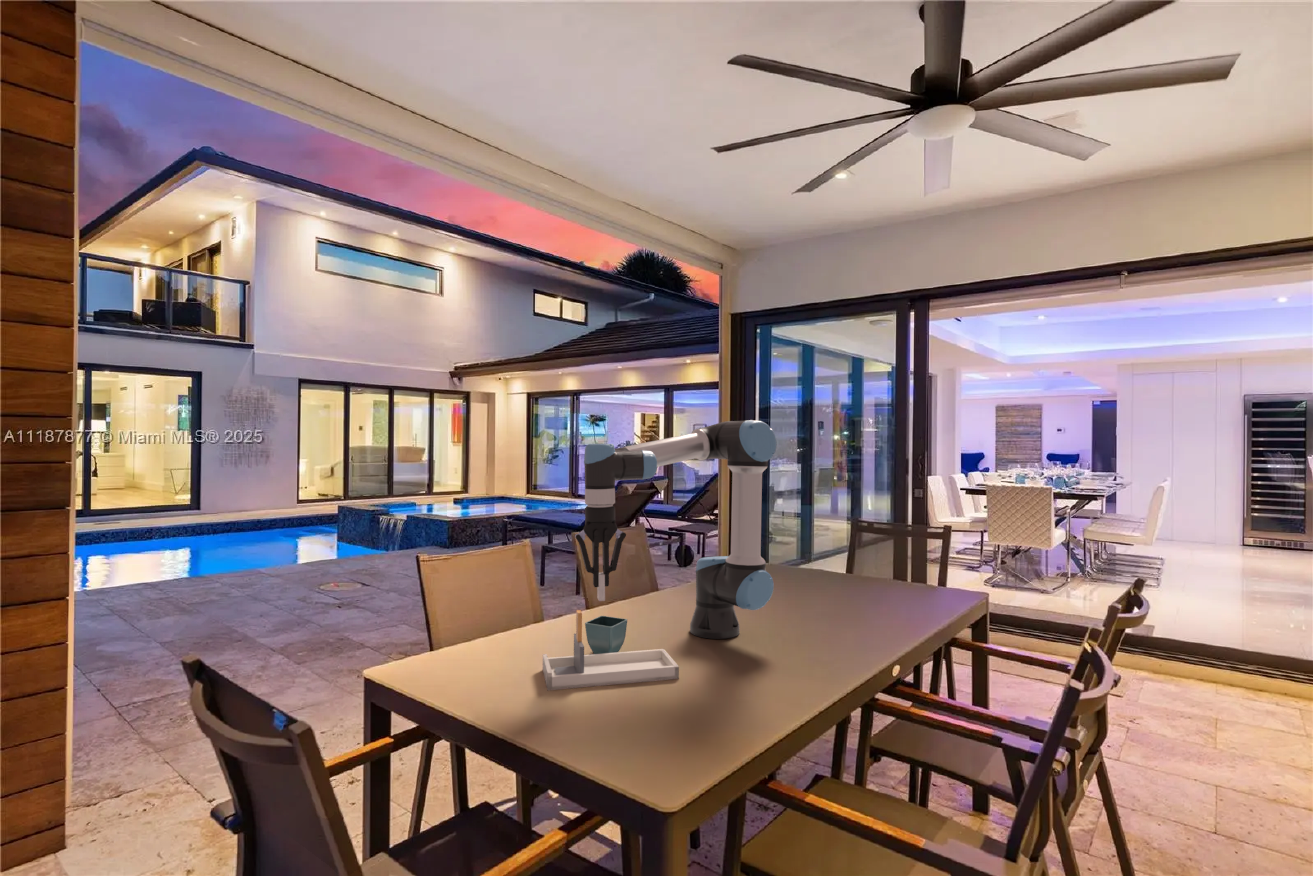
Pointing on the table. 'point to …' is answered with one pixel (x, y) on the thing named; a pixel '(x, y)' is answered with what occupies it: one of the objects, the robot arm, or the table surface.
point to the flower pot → (606, 634)
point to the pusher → (575, 651)
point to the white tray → (611, 669)
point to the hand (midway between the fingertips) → (601, 599)
